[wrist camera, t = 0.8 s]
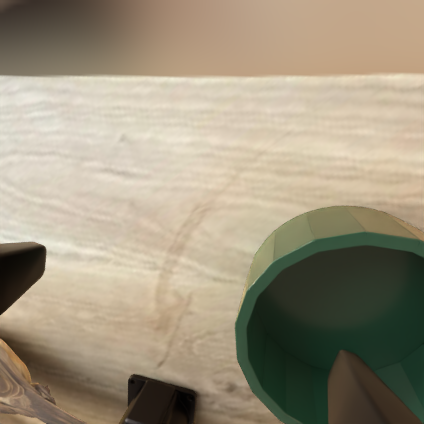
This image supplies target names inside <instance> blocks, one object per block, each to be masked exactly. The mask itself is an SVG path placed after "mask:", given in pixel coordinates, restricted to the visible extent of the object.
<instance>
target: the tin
mask: <svg viewBox="0 0 424 424" xmlns="http://www.w3.org/2000/svg"><path fill="white" fill-rule="evenodd" d="M235 336H236V350H237V359H238V363H239V365H240V367H241V369H242V371H243V373H244V375H245V378H246V380H247V382H248V384H249V386H250V388H251V390H252V392H253V393H254V394H255V395H256V396H257V397H258V398H259V400H260V401H261V402H262V403H263V404H264V405H265V406H266V407H267V408H268V409H269V410H270V411H271V412H272V413H273V414H274V415H275V416H276V417H277V418H278V419H279V420H280V421H281V422H283V423H285V424H329V423H328V375H329V372H330V370H331V368H332V365H333V363H334V361H335V358H336V356H337V354H338V352H339V351H340V350H346V351H349V352H352V353H355V354H357V355H358V356H359V357H360V358H361V359H362V360H363V361H364V362H365V363H366V364H367V365H368V366H369V367H370V368H371V369H372V370H373V371H374V372H375V373H376V374H377V375H378V377H379V378H380V379H381V380H382V381H383V382H384V383H385V384H386V385H387V386H388V387H389V388H390V389H391V390H392V391H393V392H394V393H395V394H396V395H397V396H398V397H399V398H400V399H401V401H402V402H403V403H404V404H405V405H406V406H407V407H408V408H409V409H410V410H411V411H412V412H413V413H414V414H415V415H416V416H417V417H418V418H419V419H420V420H421V421H422V422H423V423H424V233H423V232H422V231H420V230H419V229H417V228H415V227H413V226H411V225H409V224H407V223H405V222H404V221H402V220H400V219H398V218H396V217H394V216H392V215H390V214H387V213H385V212H382V211H378V210H375V209H369V208H364V207H356V206H333V207H327V208H321V209H317V210H313V211H310V212H306V213H304V214H302V215H299V216H297V217H295V218H293V219H291V220H290V221H288V222H286V223H284V224H283V225H282V226H280V227H279V228H278V229H277V230H275V231H274V232H273V233H272V234H271V235H270V236H269V237H268V238H267V239H266V240H265V242H264V243H263V244H262V246H261V247H260V248H259V250H258V251H257V252H256V254H255V256H254V259H253V262H252V265H251V267H250V271H249V274H248V276H247V279H246V283H245V287H244V291H243V294H242V298H241V302H240V306H239V310H238V314H237V318H236V322H235Z"/></svg>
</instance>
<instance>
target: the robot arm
mask: <svg viewBox="0 0 424 424" xmlns="http://www.w3.org/2000/svg"><path fill="white" fill-rule="evenodd" d="M45 263H46V247H45V246H44V245H41V244H38V243H35V242H21V243H6V244H0V315H1V314H2V313H4V312H5V311H6V310H7V309H8V308H9V307H10V306H11V305H12V304H13V303H14V302H15V301H17V300H18V299H19V298H20V297H21V296H22V295H23V294H24V293H25V292H26V291H27V290H28V289H29V288H30V287H31V286H32V285H33V284H35V283H36V282H37V281H38V280H39V279H40V278H41V277H42V275H43V273H44V271H45ZM196 401H197V394H196V392H195V391H193V390H190V389H186V388H182V387H179V386H175V385H171V384H168V383H164V382H161V381H157V380H153V379H150V378H146V377H143V376H139V375H135V374H133V375H131V376H130V378H129V380H128V408H127V410H126V412H125V414H124V415H123V417H122V419H121V421H120V422H119V424H194V422H195V412H196ZM328 423H329V424H424V423H423V422H422V421H421V420H420V419H419V418H418V417H417V416H416V415H415V414H414V413H413V412H412V411H411V410H410V409H409V408H408V407H407V406H406V405H405V404H404V403H403V402H402V401H401V399H400V398H399V397H398V396H397V395H396V394H395V393H394V392H393V391H392V390H391V389H390V388H389V387H388V386H387V385H386V384H385V383H384V382H383V381H382V380H381V379H380V378H379V377H378V375H377V374H376V373H375V372H374V371H373V370H372V369H371V368H370V367H369V366H368V365H367V364H366V363H365V362H364V361H363V360H362V359H361V358H360V357H359V356H358V355H357V354H355V353H352V352H349V351H346V350H340V351H339V352H338V354H337V356H336V358H335V361H334V363H333V365H332V368H331V370H330V372H329V375H328Z"/></svg>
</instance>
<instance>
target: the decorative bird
mask: <svg viewBox="0 0 424 424" xmlns="http://www.w3.org/2000/svg"><path fill="white" fill-rule="evenodd" d="M49 392H50V390H49V388H48V386H46V387H44V386H42V385H40V383H31V377H30V373H29V371H28V369H27V367H26V365H25V364H24V363H23V362H22V361H21V360H20V359H19V357H18V356H17V355H16V354H15V353H14V352H13V351H12V350H11V348H10V347H9V346H8V345H7V344H6V343H5V342H4V341H3V340H2V339H1V338H0V413H6V414H20V415H25V416H28V417H33V418H38V419H40V420H41V421H43V422H45V423H46V424H87V423H85V422H84V421H82V420H80V419H78V418H76V417H74V416H73V415H71V414H69V413H68V412H66V411H64V410H62V409H61V408H59V407H57V406H56V404H55V400H54V398H53V397H51V395H50V394H49Z"/></svg>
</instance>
